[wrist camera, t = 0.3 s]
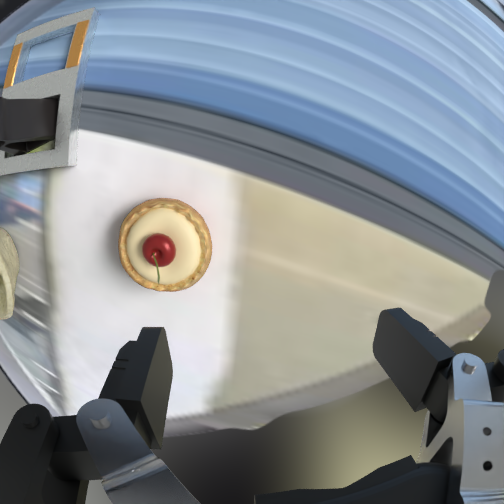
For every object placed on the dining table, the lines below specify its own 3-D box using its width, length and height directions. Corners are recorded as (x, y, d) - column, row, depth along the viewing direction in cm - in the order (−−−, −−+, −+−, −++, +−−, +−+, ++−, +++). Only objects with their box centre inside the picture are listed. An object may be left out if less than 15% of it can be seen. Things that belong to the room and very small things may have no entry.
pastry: (204, 188, 36) (201, 192, 28) (218, 273, 39) (220, 300, 31) (119, 205, 35) (94, 214, 26) (137, 286, 38) (120, 314, 30)
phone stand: (21, 156, 30) (-30, 159, 19) (17, 122, 28) (-31, 117, 17) (62, 135, 31) (12, 129, 19) (59, 99, 29) (11, 83, 17)
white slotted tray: (24, 38, 23) (16, 34, 21) (100, 13, 25) (94, 6, 23) (4, 175, 30) (-6, 176, 28) (76, 165, 32) (67, 165, 30)
